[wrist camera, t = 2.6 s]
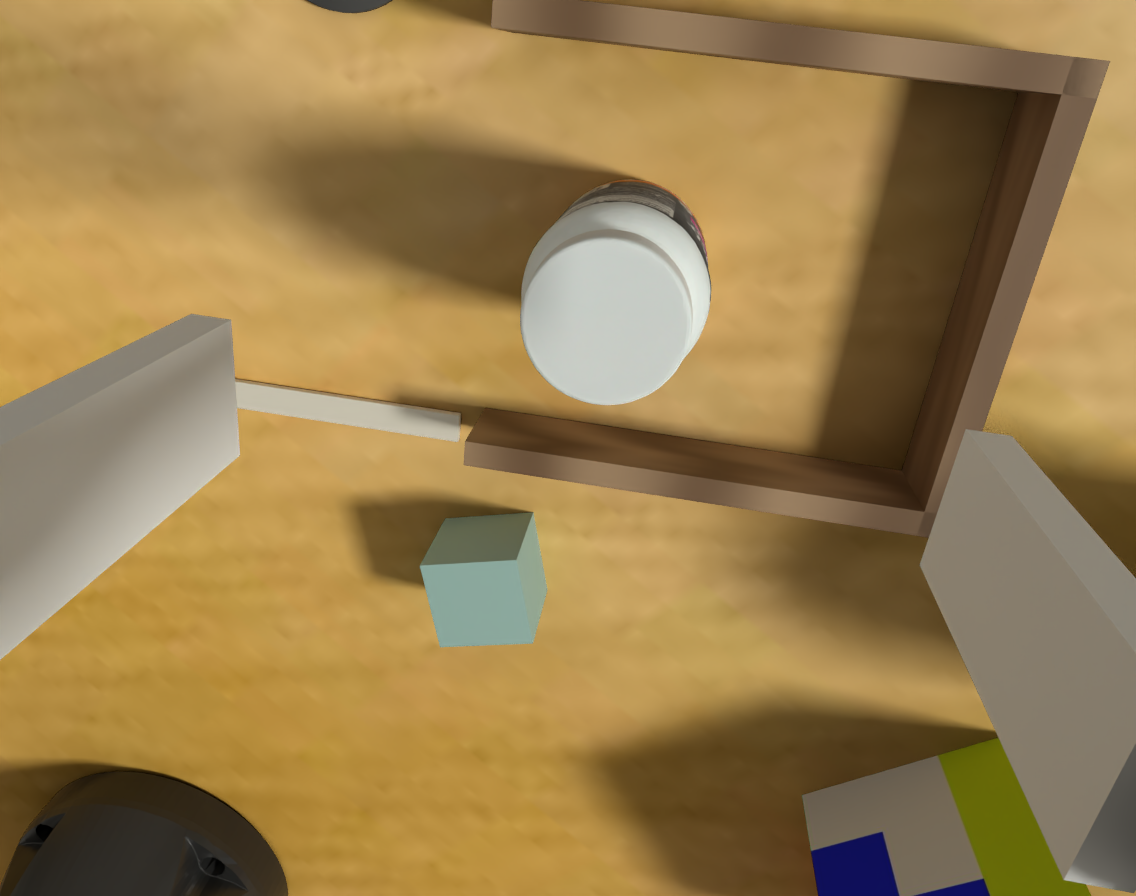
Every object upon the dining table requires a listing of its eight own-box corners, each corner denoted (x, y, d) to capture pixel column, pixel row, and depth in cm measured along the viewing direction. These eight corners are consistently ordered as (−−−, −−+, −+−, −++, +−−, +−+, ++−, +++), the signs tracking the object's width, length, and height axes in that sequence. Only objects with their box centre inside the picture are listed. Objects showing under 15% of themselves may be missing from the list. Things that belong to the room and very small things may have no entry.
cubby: (483, 429, 35) (463, 465, 32) (514, -1, 28) (493, -10, 25) (920, 496, 34) (944, 540, 31) (1060, 62, 27) (1110, 60, 24)
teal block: (463, 593, 39) (440, 646, 35) (445, 517, 37) (419, 565, 34) (547, 589, 38) (532, 643, 34) (533, 511, 36) (516, 560, 33)
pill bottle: (702, 329, 32) (709, 428, 23) (555, 327, 33) (506, 423, 24) (708, 174, 30) (719, 217, 21) (550, 176, 31) (494, 219, 22)
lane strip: (188, 397, 36) (185, 400, 36) (186, 371, 36) (182, 373, 35) (459, 439, 35) (457, 442, 35) (461, 413, 35) (459, 415, 35)
